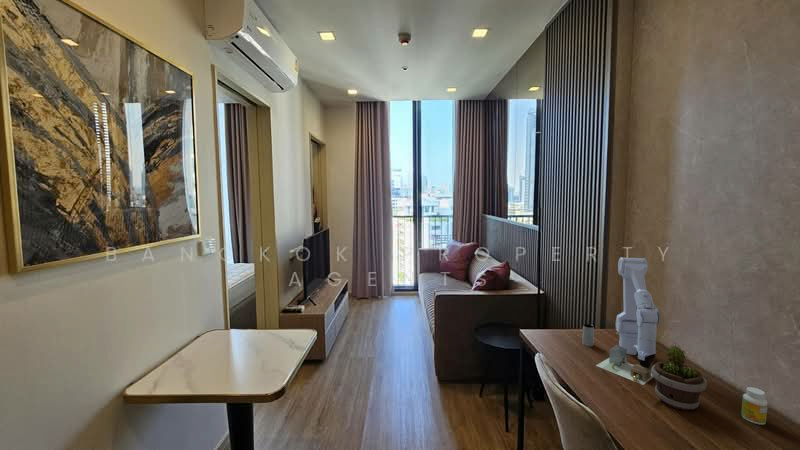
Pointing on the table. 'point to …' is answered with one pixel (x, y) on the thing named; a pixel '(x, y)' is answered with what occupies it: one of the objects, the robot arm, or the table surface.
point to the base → (621, 370)
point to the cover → (641, 371)
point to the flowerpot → (678, 381)
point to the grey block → (618, 355)
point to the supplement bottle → (754, 406)
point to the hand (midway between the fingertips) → (645, 370)
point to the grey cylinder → (588, 335)
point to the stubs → (636, 377)
